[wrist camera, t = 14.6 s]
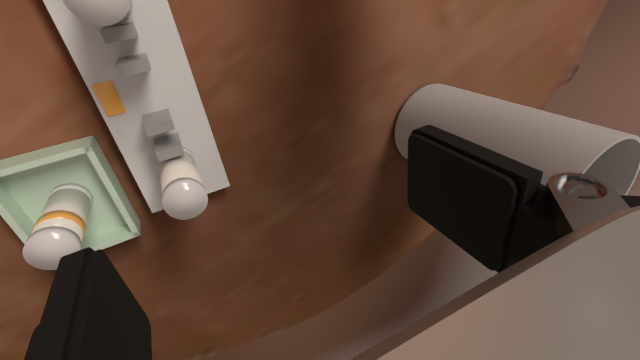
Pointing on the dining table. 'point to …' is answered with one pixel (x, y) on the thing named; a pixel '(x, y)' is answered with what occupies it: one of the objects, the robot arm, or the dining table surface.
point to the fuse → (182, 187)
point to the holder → (143, 91)
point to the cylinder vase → (523, 134)
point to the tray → (61, 168)
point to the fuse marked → (59, 226)
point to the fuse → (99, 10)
